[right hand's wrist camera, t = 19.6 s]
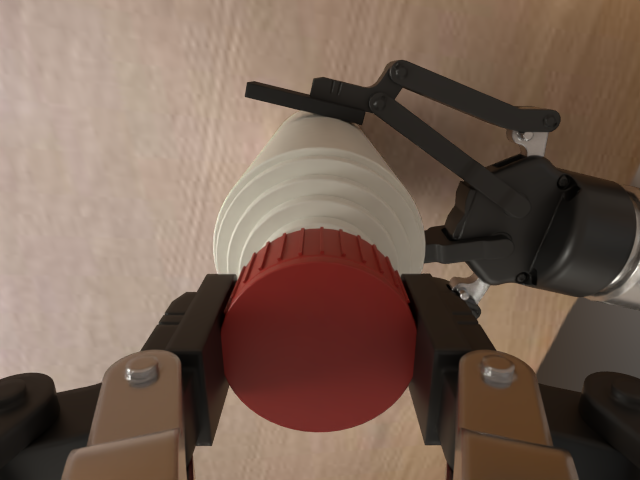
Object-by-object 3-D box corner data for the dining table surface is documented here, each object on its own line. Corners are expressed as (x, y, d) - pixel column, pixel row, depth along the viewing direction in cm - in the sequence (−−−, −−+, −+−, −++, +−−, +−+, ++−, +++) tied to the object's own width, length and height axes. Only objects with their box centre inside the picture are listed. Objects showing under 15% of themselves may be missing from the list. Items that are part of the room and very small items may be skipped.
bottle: (311, 84, 31) (288, 110, 9) (388, 149, 33) (544, 317, 10) (251, 165, 33) (102, 361, 10) (326, 222, 35) (340, 501, 12)
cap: (344, 400, 13) (349, 462, 11) (204, 329, 12) (181, 381, 10) (439, 280, 12) (465, 325, 10) (288, 191, 11) (281, 218, 9)
